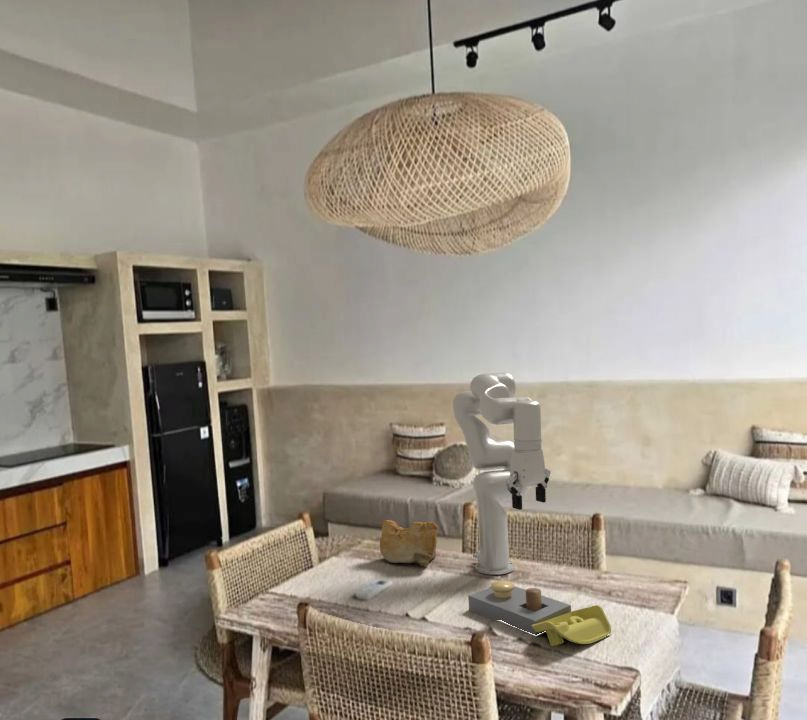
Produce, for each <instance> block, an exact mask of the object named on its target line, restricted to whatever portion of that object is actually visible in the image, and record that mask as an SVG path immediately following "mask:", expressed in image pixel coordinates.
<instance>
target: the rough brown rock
mask: <svg viewBox="0 0 807 720" xmlns="http://www.w3.org/2000/svg"><path fill="white" fill-rule="evenodd" d="M381 524H382V525H381V536H380V538H379V548H380V549H379V551H380V554H381V555H382V556H383V558H384V559H385V560H386V561H387V562H389V563H393V564H398V563H399V564H411V563H415V564H417V565H418V566H421V567H423V566H424V567H423V568H426V567H428V566H429V563H430V561H432V559H435V558H436V557H437V554H436V551H437V543H438V541H437V537H438V533H439V528H438V525H437V524H436V523H435V522H432V521H426V522H423V521H416V522H412V523H411V525H410V526H409V527H407V528H404V527H402V526H400V525H399V524H398V523H397V522H396V521H394V520H390V519H387V520H385V519H384V520H383V521H382V523H381Z"/></svg>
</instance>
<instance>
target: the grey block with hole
mask: <svg viewBox="0 0 807 720" xmlns="http://www.w3.org/2000/svg"><path fill="white" fill-rule="evenodd" d="M467 596H468V611H471V612H473V613H476V614H479V615H481V616H484V617H486V618H489V619H491V620H493V621H496V620H502V621H504V622H506V623H508V624H510V625H512V626H515V627H517V628H519V629H522V630H524V631H527V632H530V633H532V634H535V635H537V634H539V633H542V632H544V631H542V632H536V631H535V630H534V629H533V628H532V625H534V624H537V623H540V622H543V621H545V620H548V619H551V618H554V617H557V616H560V615H563V614H566V613H569V612H572V605H571V604H568V603H566V602H563V601H559V600H557V599H554V598H551V597H547V596H546V595H542V594H541V601H542V609H540V610H538V611H536V612H534V611H532V610H529V609H526V589H524V588H521V587H519V586H515V583H514V582H512V581H510V580H497V581H495V580H494V581H493V582H491V584H490V587H487V588H484V589H482V590H479V591H477V592H474V593H472V594H469V595H467Z"/></svg>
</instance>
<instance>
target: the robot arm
mask: <svg viewBox="0 0 807 720" xmlns="http://www.w3.org/2000/svg"><path fill="white" fill-rule="evenodd" d="M469 388H470V389H469V390H464V391H460V392H458V393H456V394H455V396H454V397H453V398H452V399H453V400H452V411H453V414H454V418H455V420H456V423H457V424H458V426H459V428H460V429H461V431H462V434H463V436H464V440H465V445H466V447H467V451H468V455H469V458H470V462H471V465H472V467H473V468H474V469H475V470H477V471H483V472H480V473H478V474H476V475H475V476H474V478H473V481H472V488H473V493H474V496H475V497H474V498H475V502H476V510H477V511H476V512H477V525H478V528H477V531H478V549H476V550H475V552H474V553H473V554H472V557H473V558H475V559H477V562H476V563H475V566H474V567H475V569H474V570H476V571H477V572H479V573H480V574H485V575H495V576H497V575H498V576H499V575H504V574H508V573H511V572H513V571H514V570H515V564H514V562H512V561H510V549H509V548H510V547H509V544H510V543H509V529H508V527H509V525H508V515H507V514H508V513H507V511H506V510H505V508H504V507H503V506H502V505H501V504H500V501H507V500H508V501H509V500H511V505H512V506H511V507H512V508H513V509H514V510H519V511H521V510H522V509H523V497H525V496H526V495H527V493H528V487H533V486H535V485H536V486H535V501H536V502H540V503H543V504H544V503H546V501H547V500H546V499H547V498H546V494H547V493H546V489H547V488H548V483H549V481H550V475H551V470H550V469H548V468H546V467H545V464H546V463H545V456H544V451H543V448H542V441H543V439H542V417H541V416H542V414H541V404H540V403H539V401H536V400H532V399H531V398H530V397H528V396H515V394H516V390H517V389H516V388H517V385H516V381H515V378H514V377H513V376H512V375H511V374H510V373H508V372H496V373H495V372H494V373H482V374H481V373H480V374H477V375H476V376H474V377H473V378H472V380H471V381H470V384H469ZM478 415H479V416H480V415H481V416H482V418H483V419H485V421H487V422H488V423H490V424H491V425H496V426H497V425H509V424H513V441H511V440H508V439H498V440H494V439H492V436H491V434H490V430H489V428H488V426H487V425H486V424H485V423H484V422H483V421H482V420H481V419H480V418H478V417H477V416H478Z"/></svg>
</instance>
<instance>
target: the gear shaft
mask: <svg viewBox="0 0 807 720" xmlns="http://www.w3.org/2000/svg"><path fill="white" fill-rule="evenodd" d="M525 590H526V609H529V610H532V611H534V612H536V611H538V610H540V609H542V601H541V595H542V590H541V589H539V588H537V587H529V588H526V589H525Z"/></svg>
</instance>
